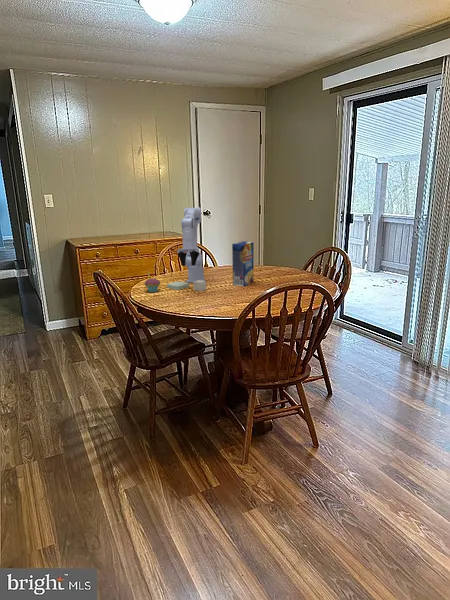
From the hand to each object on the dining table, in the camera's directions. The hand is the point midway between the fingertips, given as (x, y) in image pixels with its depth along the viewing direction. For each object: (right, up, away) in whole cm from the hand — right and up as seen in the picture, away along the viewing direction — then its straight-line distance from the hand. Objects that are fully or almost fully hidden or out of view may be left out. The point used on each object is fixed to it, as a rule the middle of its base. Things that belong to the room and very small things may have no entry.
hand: (188, 265), depth 220 cm
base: (-7, -11, +14) cm, 20 cm away
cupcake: (-21, -14, +8) cm, 26 cm away
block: (+6, -13, +8) cm, 16 cm away
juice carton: (+31, -9, +20) cm, 38 cm away
